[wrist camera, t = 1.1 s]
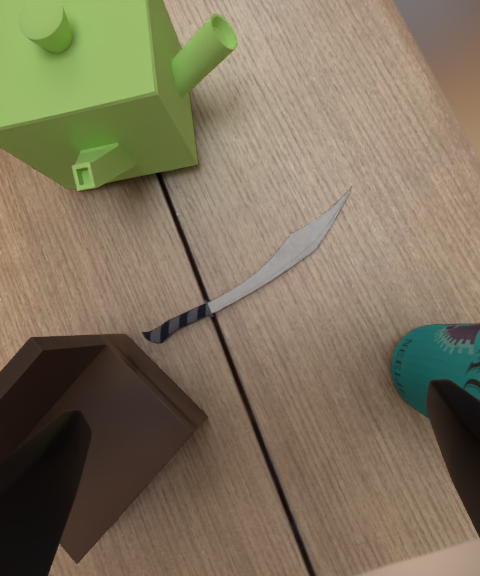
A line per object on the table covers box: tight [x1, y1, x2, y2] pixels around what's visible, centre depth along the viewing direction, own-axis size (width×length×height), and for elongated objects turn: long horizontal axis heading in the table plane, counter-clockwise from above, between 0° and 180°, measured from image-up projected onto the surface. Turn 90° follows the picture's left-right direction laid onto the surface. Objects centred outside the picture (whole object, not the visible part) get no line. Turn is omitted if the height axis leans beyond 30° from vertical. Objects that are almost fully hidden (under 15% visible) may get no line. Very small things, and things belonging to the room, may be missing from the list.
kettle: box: [0, 0, 237, 191], centre depth 23 cm, size 15×14×11 cm
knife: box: [142, 186, 352, 343], centre depth 26 cm, size 19×2×1 cm, turn 125°
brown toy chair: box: [0, 334, 208, 564], centre depth 21 cm, size 9×11×10 cm
